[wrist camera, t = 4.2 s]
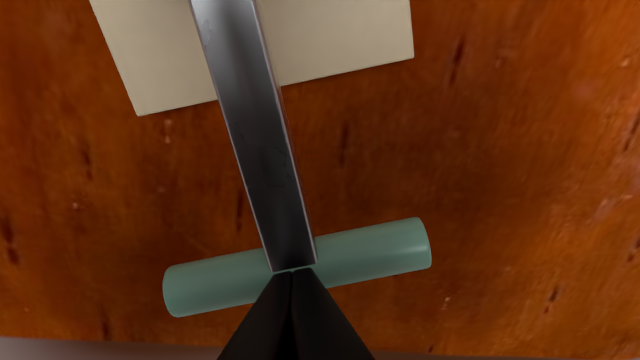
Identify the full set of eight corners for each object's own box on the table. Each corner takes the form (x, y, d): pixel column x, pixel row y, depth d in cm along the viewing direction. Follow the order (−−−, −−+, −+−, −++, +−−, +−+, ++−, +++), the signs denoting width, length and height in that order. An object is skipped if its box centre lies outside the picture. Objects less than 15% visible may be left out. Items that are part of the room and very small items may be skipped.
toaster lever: (413, 235, 11) (443, 295, 9) (192, 280, 11) (166, 349, 9) (339, -358, 6) (363, -547, 4) (-28, -268, 7) (-192, -405, 4)
